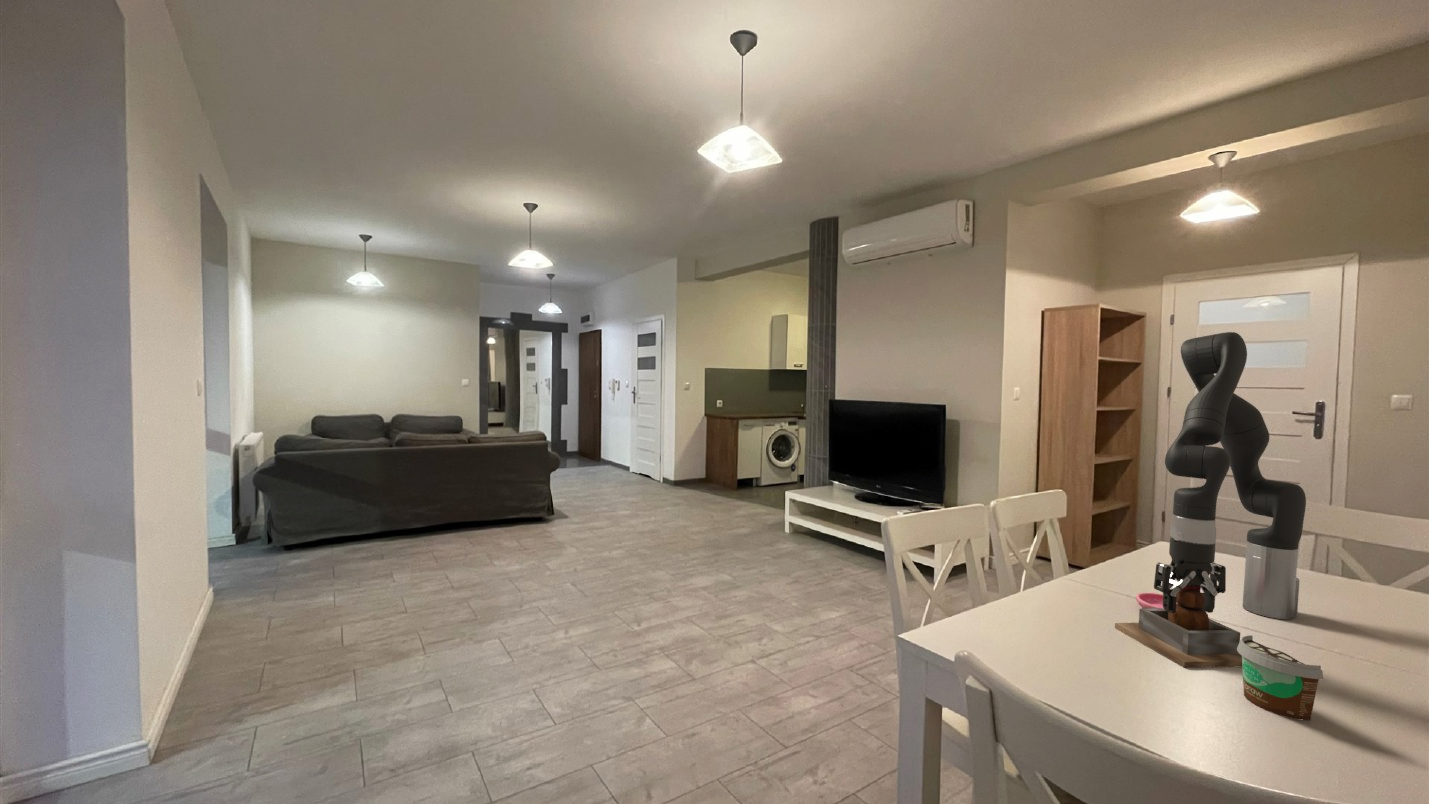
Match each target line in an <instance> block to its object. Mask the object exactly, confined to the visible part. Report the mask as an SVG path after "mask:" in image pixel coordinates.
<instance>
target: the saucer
mask: <svg viewBox="0 0 1429 804" xmlns="http://www.w3.org/2000/svg"><path fill="white" fill-rule="evenodd" d="M1135 601H1136V602H1137V603H1138V605H1139V606H1140V607H1141V609H1164V608H1163V593H1156V592H1140V593H1137V594H1136V596H1135ZM1176 604H1178V603H1177V602H1176Z"/></svg>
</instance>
